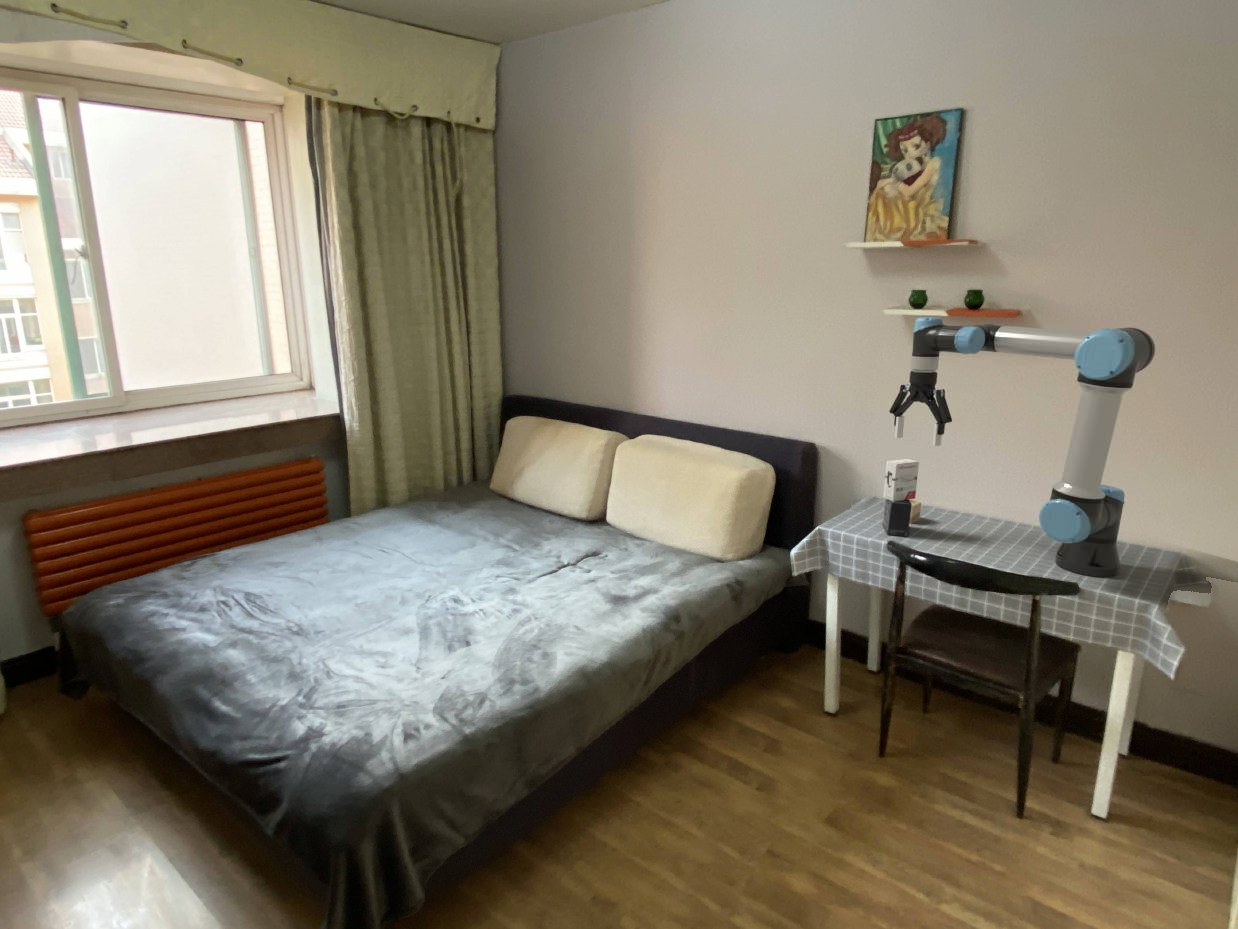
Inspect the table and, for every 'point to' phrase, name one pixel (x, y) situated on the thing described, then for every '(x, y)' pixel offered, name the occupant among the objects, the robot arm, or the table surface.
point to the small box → (897, 517)
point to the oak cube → (915, 511)
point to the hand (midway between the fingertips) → (917, 441)
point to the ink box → (900, 479)
